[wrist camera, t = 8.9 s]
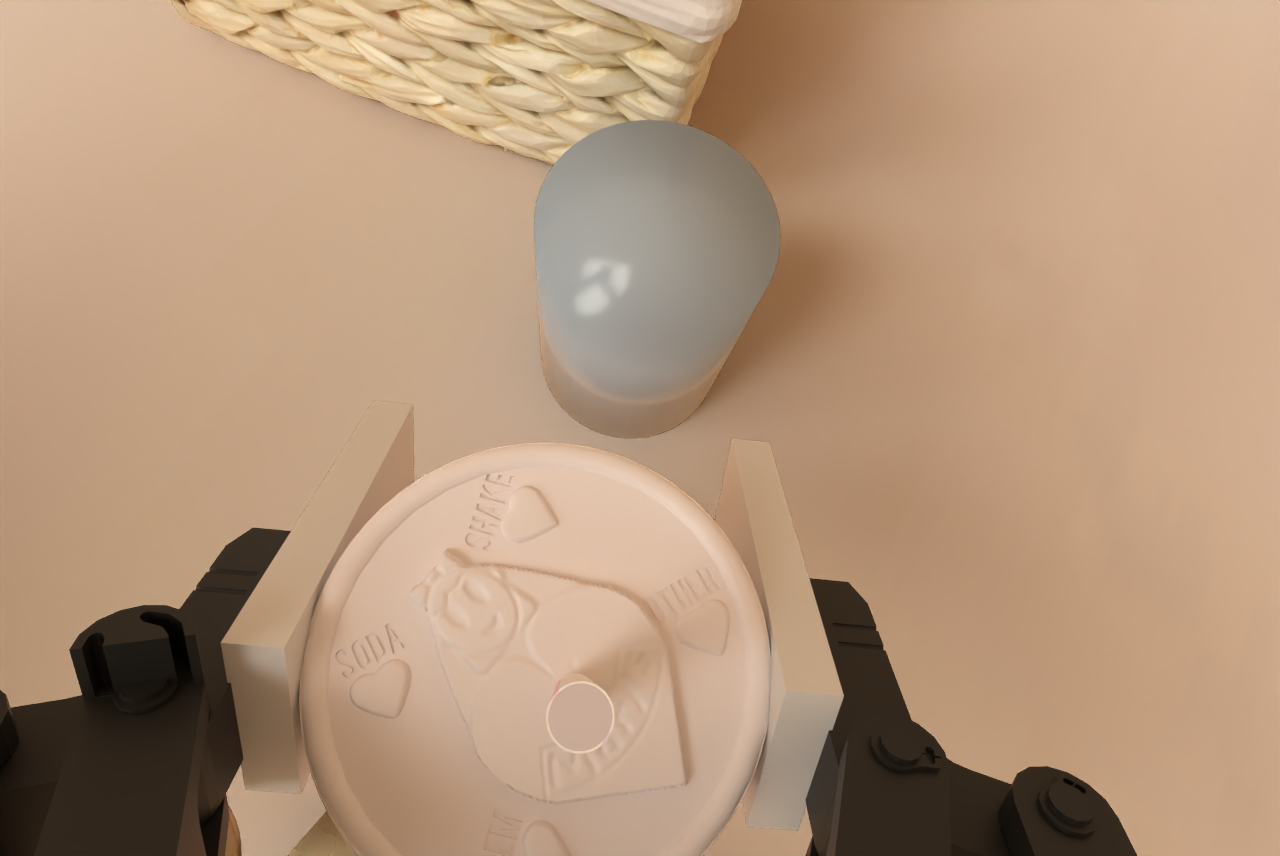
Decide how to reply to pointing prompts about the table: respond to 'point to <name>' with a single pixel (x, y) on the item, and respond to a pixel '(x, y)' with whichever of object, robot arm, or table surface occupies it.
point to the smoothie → (536, 665)
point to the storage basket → (494, 58)
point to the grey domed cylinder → (647, 271)
